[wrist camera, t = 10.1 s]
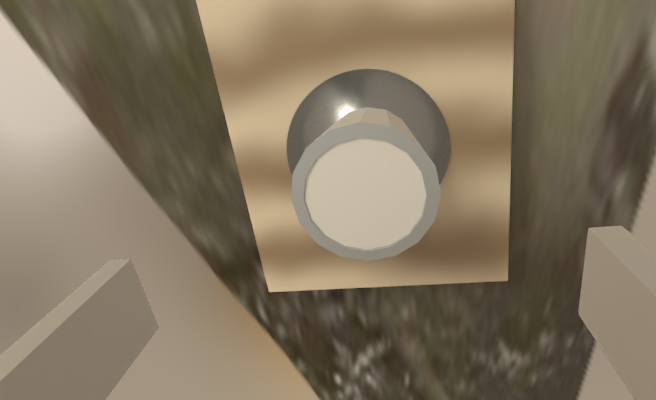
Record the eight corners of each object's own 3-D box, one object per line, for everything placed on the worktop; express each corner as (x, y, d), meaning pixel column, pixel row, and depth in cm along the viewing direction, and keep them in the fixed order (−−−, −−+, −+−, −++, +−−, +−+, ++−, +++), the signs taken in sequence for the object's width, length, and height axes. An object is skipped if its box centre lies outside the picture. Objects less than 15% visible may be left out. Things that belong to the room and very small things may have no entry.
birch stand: (222, 3, 26) (194, -1, 22) (495, -49, 23) (517, -64, 19) (281, 263, 34) (268, 293, 30) (493, 250, 30) (508, 282, 27)
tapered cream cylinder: (444, 178, 24) (464, 232, 18) (345, 219, 26) (332, 280, 20) (398, 74, 22) (403, 93, 16) (294, 128, 24) (262, 163, 18)
